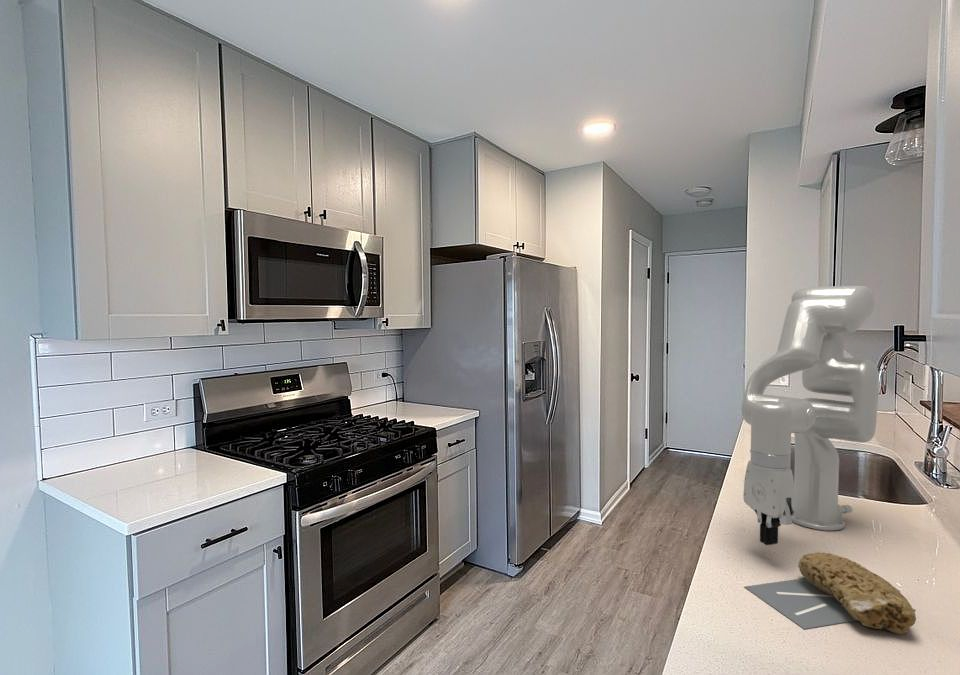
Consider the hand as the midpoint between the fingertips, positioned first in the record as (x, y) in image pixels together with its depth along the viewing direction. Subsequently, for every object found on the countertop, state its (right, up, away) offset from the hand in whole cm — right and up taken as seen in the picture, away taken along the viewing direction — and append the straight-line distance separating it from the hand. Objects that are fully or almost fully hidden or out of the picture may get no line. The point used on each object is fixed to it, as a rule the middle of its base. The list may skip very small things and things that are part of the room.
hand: (768, 542), depth 112 cm
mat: (+2, -4, -15) cm, 16 cm away
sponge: (+5, -5, -17) cm, 19 cm away
